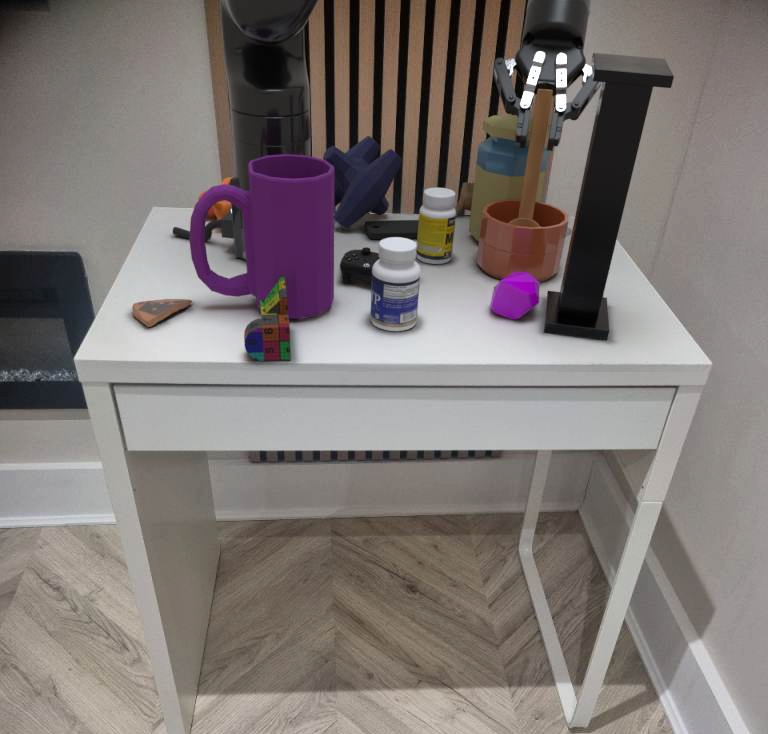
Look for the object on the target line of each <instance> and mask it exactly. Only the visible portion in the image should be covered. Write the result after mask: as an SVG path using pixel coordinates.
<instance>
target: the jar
mask: <svg viewBox="0 0 768 734" xmlns="http://www.w3.org/2000/svg"><path fill="white" fill-rule="evenodd" d="M517 122H518V117H517V116H516V115H515V114H494V115H491V116H489V117H487V118H484V119H483V120H482V128H481V129H482V130H483V131H484V132H485V133H486V134H488V136H489V137H487V138H486V139H484V140H483V141H481V142H479V144H478V145H477V153H476V154H477V155H476V163H475V172H474V181H473V183H474V188H473V197H472V205H471V211H470V214H469V223H468V232H469V233H470V234H471V236H473V237H474V239H475V240H476V241H478V242H479V237H480V229H481V221H482V213H483V209H484V206H486V205H487V204H489V203H491V202H495V201H500V200H513V199H521V195H522V188H523V182H524V175H525V168H526V162H527V155H528V149H529V142H530V136H531V129H532V123H533V117H531V116H530V121H529V127H528V134H527V140H526V146H525V148H520V143H517V142H516V140H515V135H516V128H517ZM550 126H551V124H549V123H548V125H547V131H546V137H545V138H548V137H549V132H550ZM549 154H550V151H547V146H545V145H544V150H543V156H542V162H541V169H540V175H539V181H538V187H537V194H536V200H535V201H537V202H541V199H542V193H543V190H544V189H543V188H544V182H545V177H546V171H547V165H548V159H549Z"/></svg>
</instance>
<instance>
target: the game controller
mask: <svg viewBox="0 0 768 734" xmlns="http://www.w3.org/2000/svg"><path fill="white" fill-rule="evenodd" d="M379 259H380V258H379V254H378V252H376V251H371V247H368V246H364V247H362V249H350V250H349V251H347V252H346V253H344V254H343V256H342V258H341V260H340V264H339V270H340V274H341V281H342V282H343V283H351V281H352V280H353V279H358V280H363V281H367V282H370V283H372V268H373V265H374V263H375V262H376V261H377V260H379Z"/></svg>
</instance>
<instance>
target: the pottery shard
mask: <svg viewBox="0 0 768 734" xmlns="http://www.w3.org/2000/svg"><path fill="white" fill-rule="evenodd" d="M192 302H193V300H192V299H186V298H183V299H182V298H165V299H154V300H143V301H139V302H135V303H133V304H132V308H131V310H132V311H131V312H132V315H133V317H134V318H135V319H137V320H138V321H139V322H141V324H143V325H145V326H146V327H147V328H152V327H153V326H154V325H155V326H156V324H158V323H159V322H161V321H163V320H164V319H166V318H168V317H169V316H170V315H172V314H174V313H176V312H179V311H181V310H183V309H186V308H188V307H189V306H190V305H191V303H192Z"/></svg>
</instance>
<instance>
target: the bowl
mask: <svg viewBox="0 0 768 734" xmlns="http://www.w3.org/2000/svg"><path fill="white" fill-rule="evenodd" d="M520 201H521V199H513V200H500V201H495V202H491V203H489V204H487V205H486V206H484V209H483V213H482V221H481V229H480V237H479V241H478V245H477V253H476V263H477V264H478V265H479V266H480V268H481V270H482V271H483V272H484V273H485V274H487V275H489V276H491V277H493V278H496V279H499V280H503V279H504V278H506V277H507V276H509V275H510V274H512V273H513V272H525V273H529V274H530V275H531V276H533V277H534V278H535V279H536V280H537V281H539V282H540V283H541V282H545V281H547V280H549V279H550V278H552V277H553V276H555V274H557V273H559V271H560V268H561V267H560V266H561V262H562V257H563V251H564V248H565V247H564V246H565V241H566V236H567V232H568V226H569V221H570V219H569V218H570V215H569V214H568V213H567V212H565V210H564V209H562V208H559V207H557V206H555V205H552V204H551V203H546V202H541V201H540V202H537V201H535V206H534V212H533V219H532V220H534V221H536V222H537V223H538V224H539V225H540V227H525V226H516V225H512V224H508V223H509V222H510V221H512V220H513V219H516V218H518V214H519V208H520Z"/></svg>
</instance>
